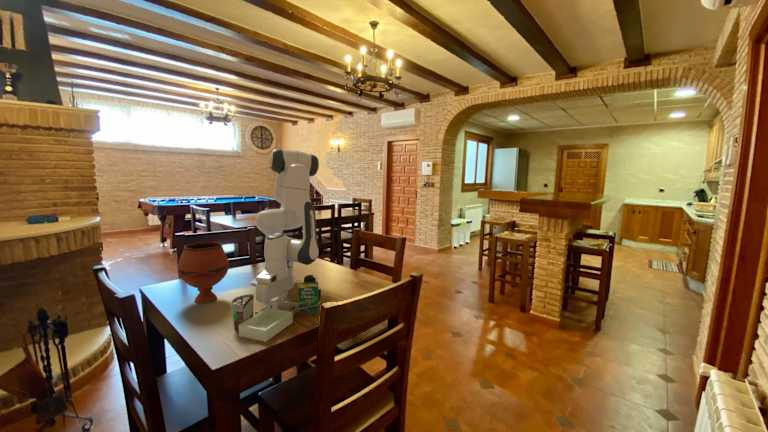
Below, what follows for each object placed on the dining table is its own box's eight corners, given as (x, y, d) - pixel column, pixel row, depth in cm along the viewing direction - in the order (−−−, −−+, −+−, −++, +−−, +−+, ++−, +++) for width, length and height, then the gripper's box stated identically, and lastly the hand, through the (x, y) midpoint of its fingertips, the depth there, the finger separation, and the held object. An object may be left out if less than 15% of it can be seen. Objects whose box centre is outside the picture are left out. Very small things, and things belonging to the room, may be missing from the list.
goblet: (169, 304, 133) (166, 246, 130) (209, 289, 151) (207, 238, 148) (201, 312, 126) (198, 251, 123) (239, 296, 144) (237, 242, 141)
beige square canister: (304, 306, 134) (304, 279, 133) (300, 300, 141) (300, 274, 139) (320, 303, 138) (321, 277, 136) (316, 298, 144) (316, 272, 143)
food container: (238, 318, 121) (237, 293, 120) (254, 318, 122) (254, 293, 121) (224, 333, 109) (223, 306, 108) (243, 333, 110) (242, 306, 109)
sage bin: (238, 336, 108) (238, 325, 108) (268, 317, 123) (268, 307, 122) (265, 341, 105) (265, 330, 104) (292, 322, 119) (292, 312, 119)
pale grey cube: (280, 314, 126) (280, 306, 126) (283, 310, 130) (283, 302, 129) (289, 314, 126) (289, 306, 126) (291, 310, 130) (291, 302, 129)
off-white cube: (269, 311, 128) (268, 300, 128) (275, 308, 132) (275, 296, 131) (277, 313, 127) (277, 301, 126) (283, 309, 131) (283, 298, 130)
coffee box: (297, 315, 125) (297, 283, 124) (298, 312, 128) (298, 281, 127) (317, 315, 126) (318, 283, 125) (318, 312, 129) (318, 281, 127)
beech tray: (255, 315, 125) (255, 311, 124) (276, 302, 137) (276, 299, 137) (284, 320, 120) (284, 317, 120) (303, 307, 133) (303, 304, 133)
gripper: (284, 265, 139) (285, 295, 140) (252, 279, 119) (253, 313, 121) (297, 267, 137) (297, 297, 138) (266, 281, 117) (267, 316, 119)
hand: (276, 305), depth 129 cm, fingers open, 8 cm apart
